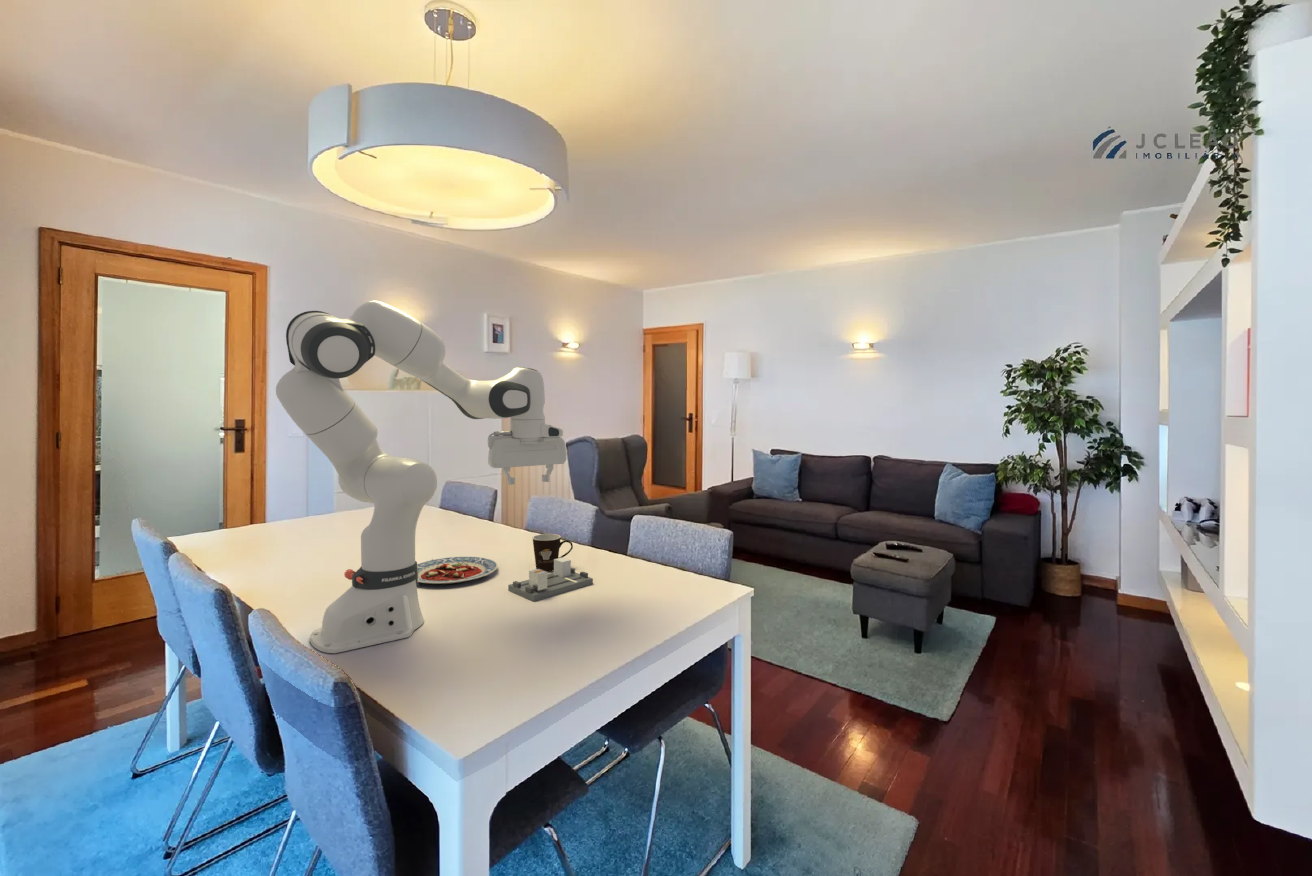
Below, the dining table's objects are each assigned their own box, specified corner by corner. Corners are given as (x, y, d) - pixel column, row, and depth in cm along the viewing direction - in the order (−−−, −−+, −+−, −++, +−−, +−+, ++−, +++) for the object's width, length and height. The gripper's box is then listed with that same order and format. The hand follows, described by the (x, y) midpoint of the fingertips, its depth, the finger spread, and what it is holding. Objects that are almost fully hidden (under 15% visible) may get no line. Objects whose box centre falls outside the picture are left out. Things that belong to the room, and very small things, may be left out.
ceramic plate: (469, 593, 148) (468, 582, 148) (385, 586, 153) (385, 575, 153) (512, 566, 173) (512, 557, 173) (439, 560, 178) (439, 551, 178)
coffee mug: (527, 571, 167) (527, 539, 167) (541, 563, 175) (541, 533, 175) (561, 575, 164) (561, 542, 163) (574, 567, 172) (574, 535, 172)
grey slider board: (533, 601, 141) (533, 578, 141) (508, 590, 150) (508, 569, 149) (592, 583, 156) (592, 563, 156) (566, 574, 164) (566, 555, 164)
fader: (537, 590, 143) (537, 573, 143) (529, 587, 146) (529, 570, 146) (547, 588, 146) (547, 571, 145) (538, 584, 148) (538, 568, 148)
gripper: (491, 432, 134) (492, 487, 135) (568, 429, 145) (569, 481, 146) (484, 431, 140) (485, 484, 141) (559, 428, 151) (560, 478, 151)
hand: (528, 483), depth 143 cm, fingers open, 8 cm apart
